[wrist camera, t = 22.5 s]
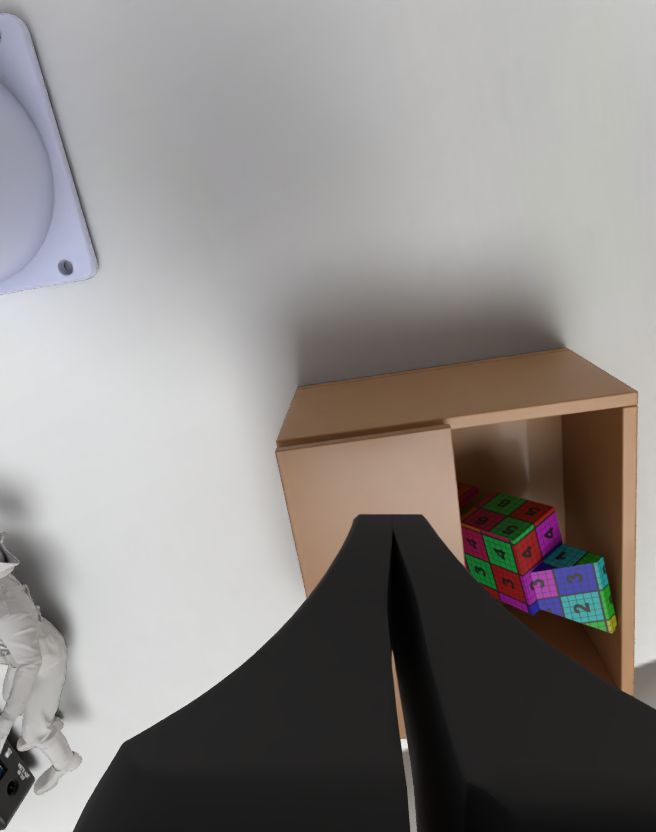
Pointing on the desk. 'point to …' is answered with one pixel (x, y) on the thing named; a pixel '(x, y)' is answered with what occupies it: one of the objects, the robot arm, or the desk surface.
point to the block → (533, 560)
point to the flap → (368, 494)
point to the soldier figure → (32, 675)
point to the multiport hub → (12, 783)
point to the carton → (519, 461)
